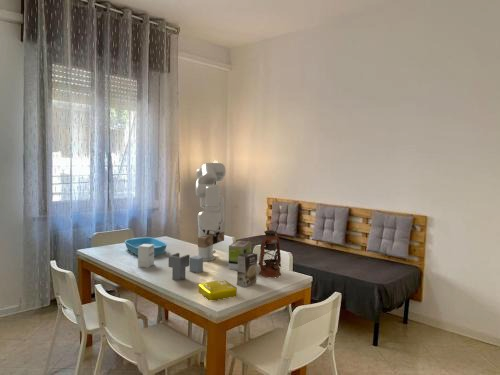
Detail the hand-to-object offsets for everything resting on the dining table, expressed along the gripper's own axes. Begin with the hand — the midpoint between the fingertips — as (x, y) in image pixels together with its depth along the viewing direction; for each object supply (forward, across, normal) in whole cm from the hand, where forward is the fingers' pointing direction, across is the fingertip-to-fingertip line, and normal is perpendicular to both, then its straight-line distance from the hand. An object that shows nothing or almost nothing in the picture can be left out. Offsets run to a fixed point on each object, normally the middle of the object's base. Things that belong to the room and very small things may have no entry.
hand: (211, 242), depth 199 cm
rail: (+1, 0, 0) cm, 1 cm away
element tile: (+22, +13, -15) cm, 30 cm away
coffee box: (+21, +20, +5) cm, 29 cm away
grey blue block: (+21, -16, +10) cm, 29 cm away
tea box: (+21, +2, +31) cm, 38 cm away
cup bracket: (+21, -16, -7) cm, 28 cm away
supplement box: (+21, -48, +3) cm, 53 cm away
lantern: (+21, +24, +27) cm, 42 cm away
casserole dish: (+22, -71, +28) cm, 80 cm away
